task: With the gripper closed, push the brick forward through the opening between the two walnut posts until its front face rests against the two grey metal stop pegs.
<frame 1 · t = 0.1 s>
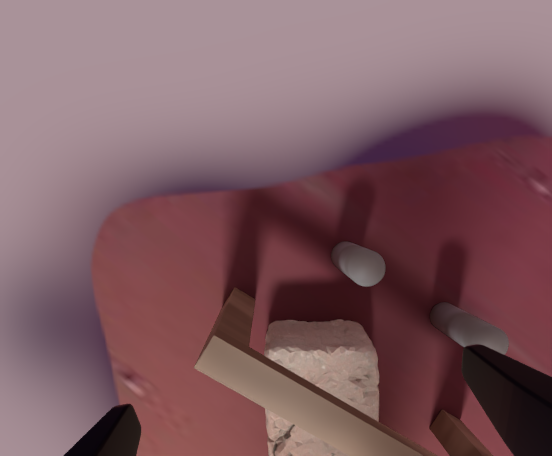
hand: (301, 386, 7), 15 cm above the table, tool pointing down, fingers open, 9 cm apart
shelf frame: (344, 365, 23), on the table
brick: (313, 408, 24), on the table
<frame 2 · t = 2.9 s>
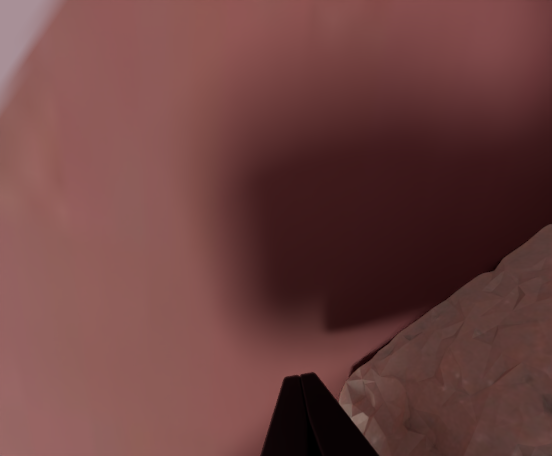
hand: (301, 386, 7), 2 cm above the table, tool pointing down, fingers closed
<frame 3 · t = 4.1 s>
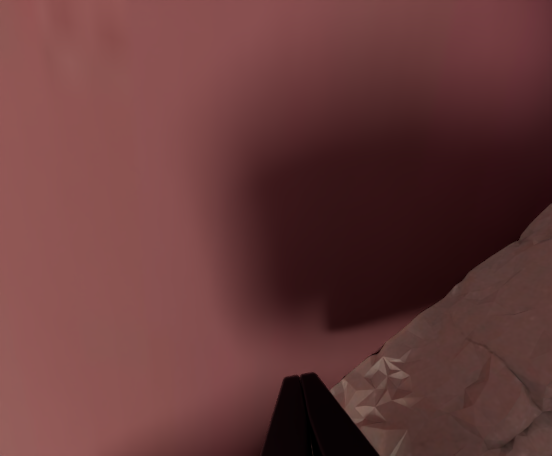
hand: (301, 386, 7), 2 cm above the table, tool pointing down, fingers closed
brick: (465, 366, 10), on the table
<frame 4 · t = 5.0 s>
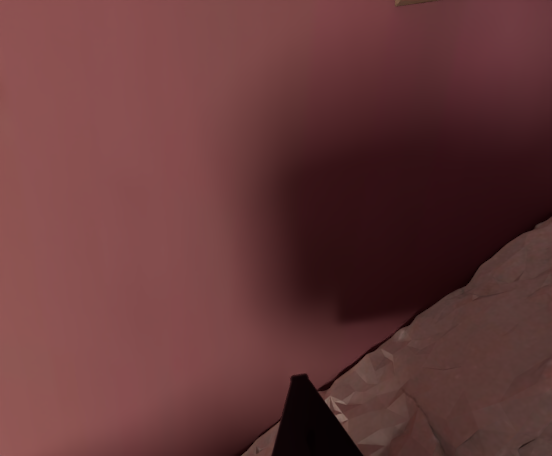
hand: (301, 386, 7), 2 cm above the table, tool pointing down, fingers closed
brick: (417, 406, 11), on the table, touching gripper, shelf frame
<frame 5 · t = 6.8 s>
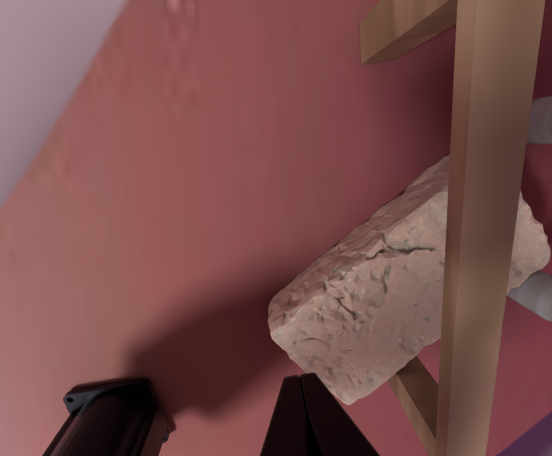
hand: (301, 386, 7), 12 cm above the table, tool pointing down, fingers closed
shelf frame: (382, 218, 19), on the table
brick: (381, 263, 20), on the table
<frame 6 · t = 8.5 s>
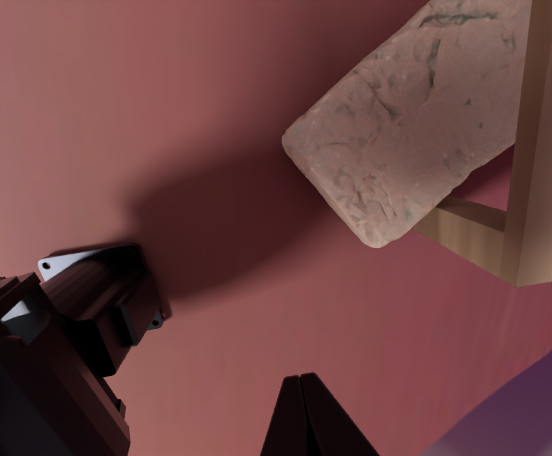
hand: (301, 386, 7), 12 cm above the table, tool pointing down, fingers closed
shelf frame: (419, 28, 16), on the table
brick: (414, 99, 17), on the table
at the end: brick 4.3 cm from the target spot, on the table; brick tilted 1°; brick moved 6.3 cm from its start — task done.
